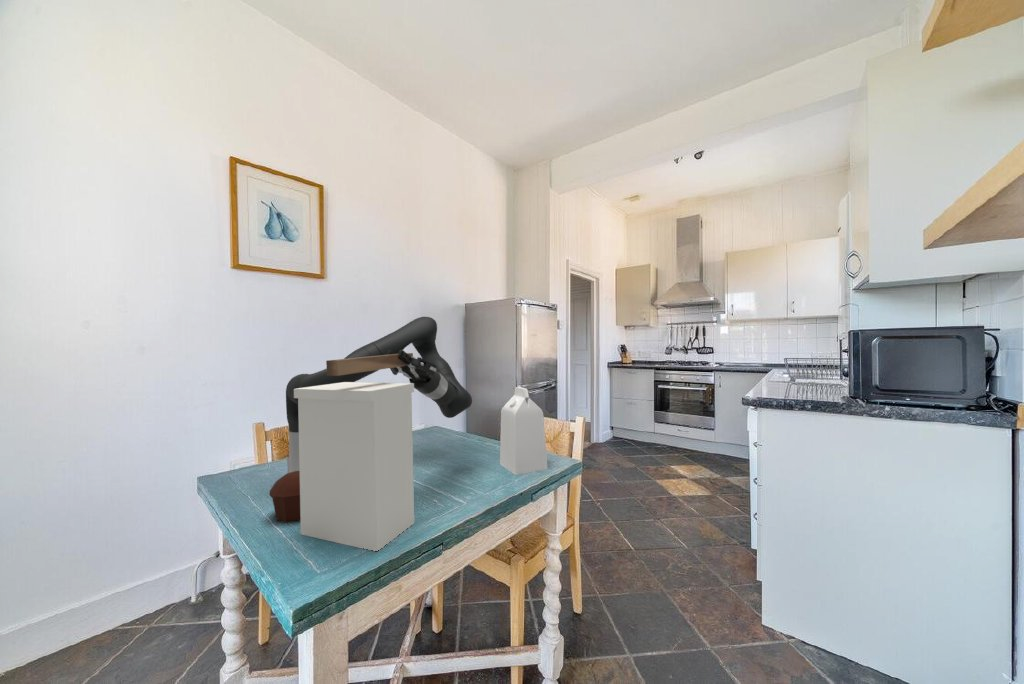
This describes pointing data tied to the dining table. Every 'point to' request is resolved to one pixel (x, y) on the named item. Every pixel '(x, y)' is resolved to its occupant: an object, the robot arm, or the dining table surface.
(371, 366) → the walnut handle
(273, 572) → the dining table surface
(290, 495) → the muffin
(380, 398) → the tall stand
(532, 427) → the milk
